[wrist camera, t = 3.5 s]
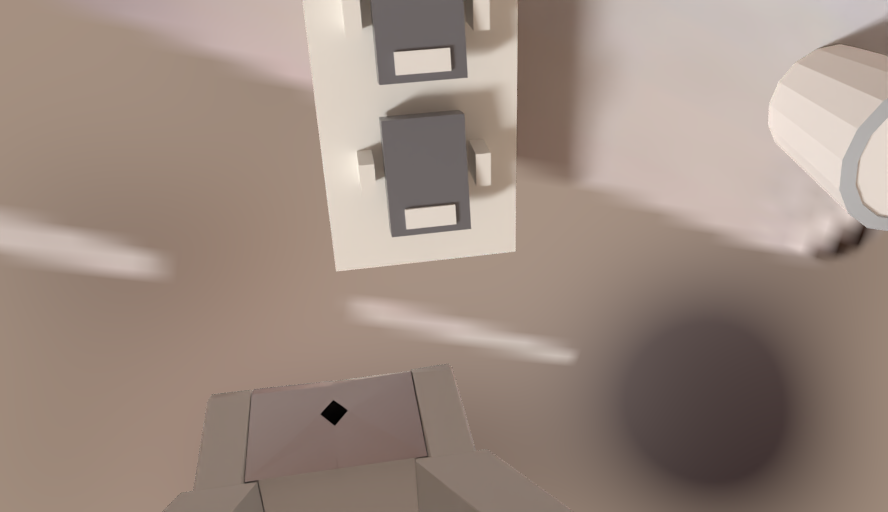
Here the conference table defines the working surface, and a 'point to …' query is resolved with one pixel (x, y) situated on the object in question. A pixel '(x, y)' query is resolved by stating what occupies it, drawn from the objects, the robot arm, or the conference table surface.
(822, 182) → the shot glass
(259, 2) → the conference table surface
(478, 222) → the rocker switch panel
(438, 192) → the block
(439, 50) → the plate
